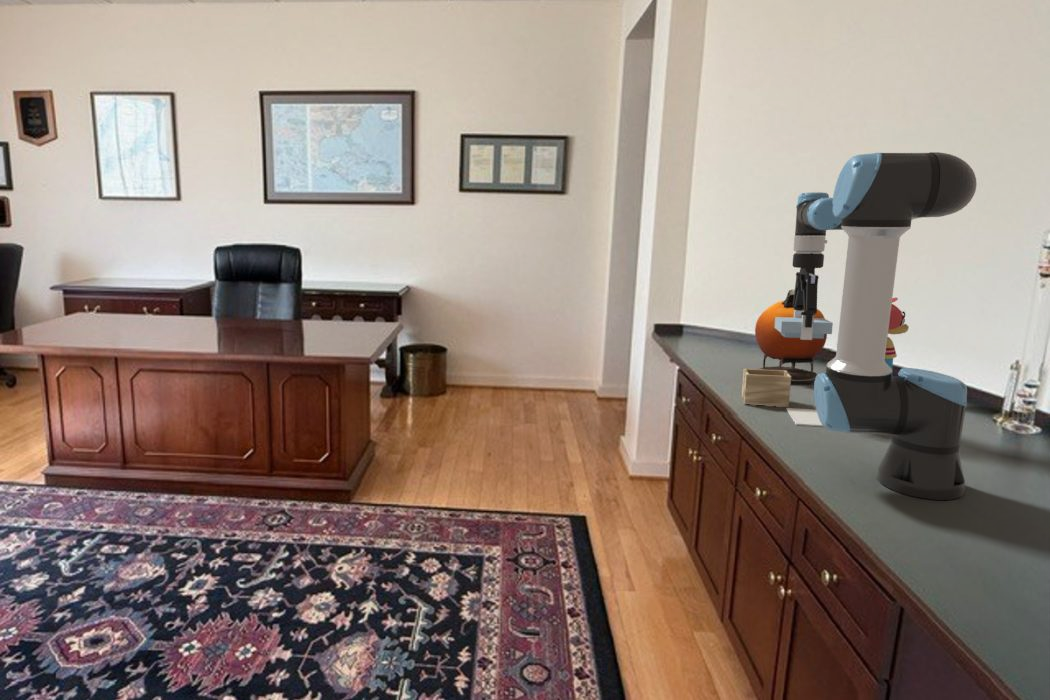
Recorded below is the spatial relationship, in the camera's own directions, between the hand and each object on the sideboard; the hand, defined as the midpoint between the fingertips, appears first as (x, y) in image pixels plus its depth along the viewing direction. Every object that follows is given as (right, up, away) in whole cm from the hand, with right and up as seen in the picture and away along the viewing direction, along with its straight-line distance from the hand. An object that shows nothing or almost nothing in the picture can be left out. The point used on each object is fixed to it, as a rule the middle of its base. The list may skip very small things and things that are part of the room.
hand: (801, 336), depth 173 cm
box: (-5, -19, +14) cm, 24 cm away
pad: (+4, -22, -1) cm, 23 cm away
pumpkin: (+14, -13, +43) cm, 47 cm away
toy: (+33, -18, +21) cm, 43 cm away
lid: (0, +2, 0) cm, 2 cm away
